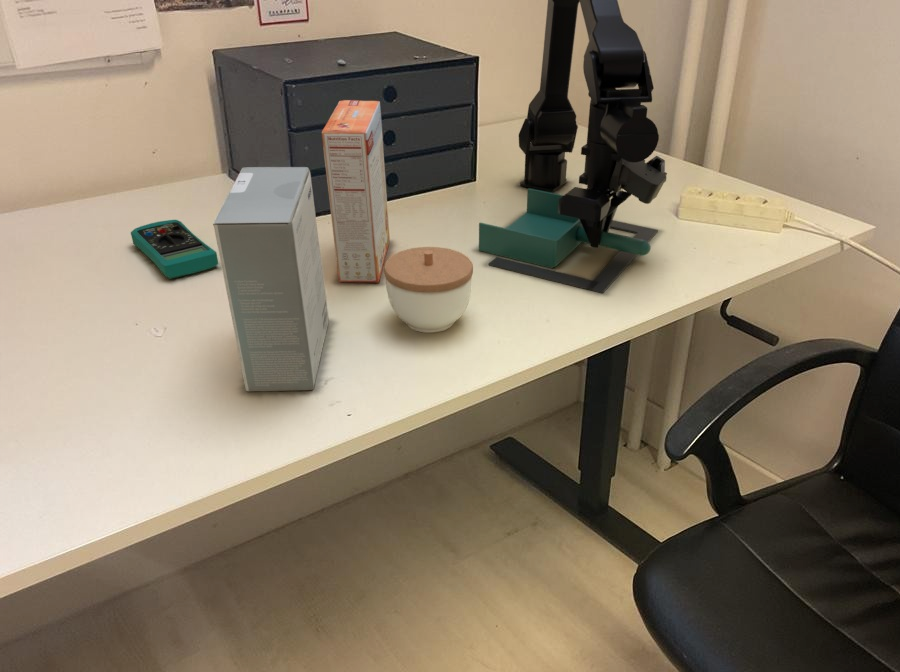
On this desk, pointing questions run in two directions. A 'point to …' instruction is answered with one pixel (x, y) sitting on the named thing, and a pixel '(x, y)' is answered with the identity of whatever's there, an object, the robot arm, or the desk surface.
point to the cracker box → (357, 189)
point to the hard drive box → (274, 277)
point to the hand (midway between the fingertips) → (597, 244)
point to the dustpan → (547, 234)
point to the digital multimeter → (174, 248)
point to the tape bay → (596, 284)
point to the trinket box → (429, 287)
